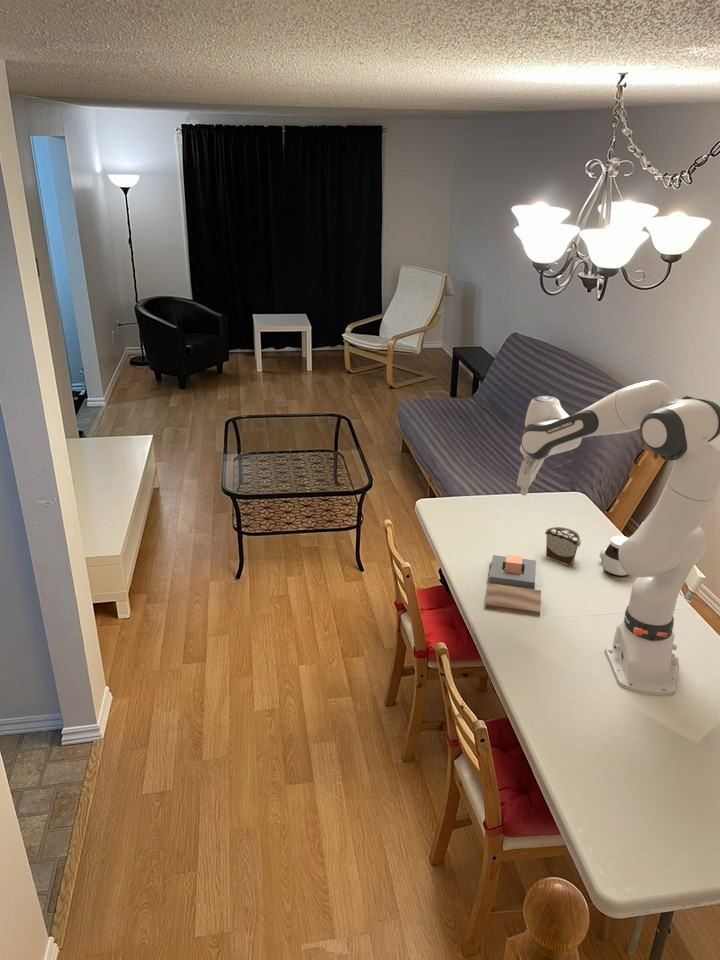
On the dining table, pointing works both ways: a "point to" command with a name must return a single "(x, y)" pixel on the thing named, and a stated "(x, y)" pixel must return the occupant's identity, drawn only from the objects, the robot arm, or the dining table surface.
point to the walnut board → (513, 599)
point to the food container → (562, 544)
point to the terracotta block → (513, 564)
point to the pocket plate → (513, 579)
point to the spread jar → (613, 557)
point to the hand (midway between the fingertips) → (527, 487)
